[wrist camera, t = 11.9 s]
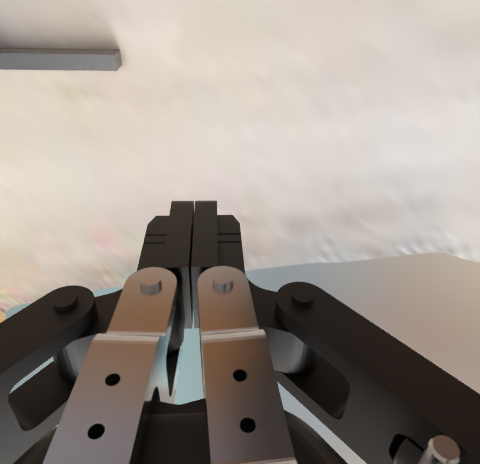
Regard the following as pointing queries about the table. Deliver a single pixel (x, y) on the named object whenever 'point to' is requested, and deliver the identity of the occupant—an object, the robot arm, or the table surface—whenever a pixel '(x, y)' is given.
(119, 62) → the grey u-shaped bracket
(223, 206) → the table surface
